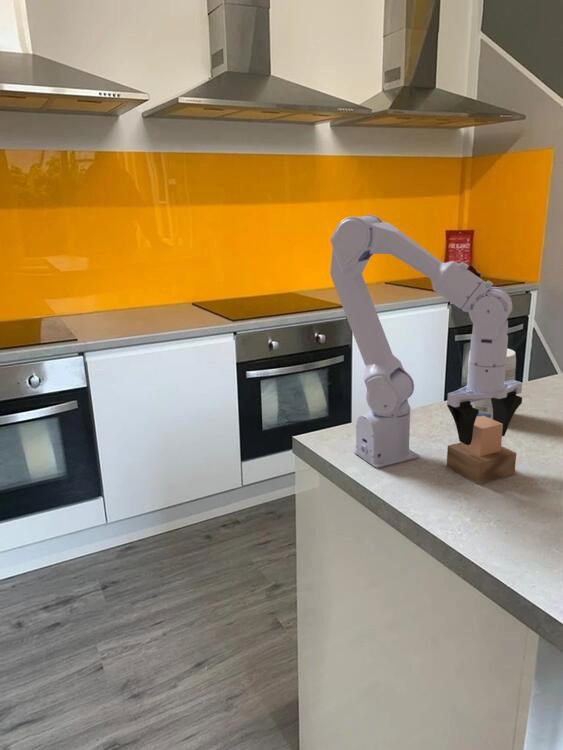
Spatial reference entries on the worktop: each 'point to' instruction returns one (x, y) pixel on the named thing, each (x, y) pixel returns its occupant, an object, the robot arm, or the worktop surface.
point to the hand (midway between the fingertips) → (482, 438)
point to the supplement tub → (486, 404)
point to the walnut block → (481, 464)
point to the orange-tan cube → (485, 436)
